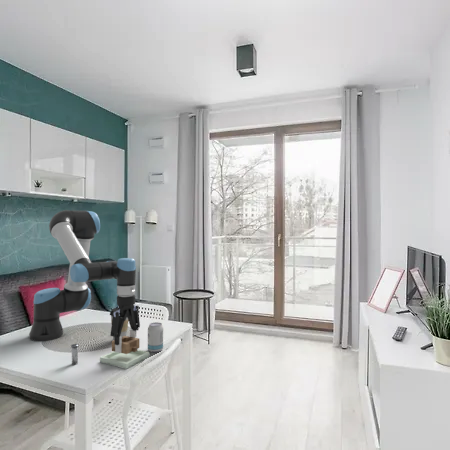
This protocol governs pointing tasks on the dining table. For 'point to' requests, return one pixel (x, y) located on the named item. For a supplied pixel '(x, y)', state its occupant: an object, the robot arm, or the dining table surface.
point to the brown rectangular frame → (128, 344)
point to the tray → (124, 358)
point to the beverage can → (155, 337)
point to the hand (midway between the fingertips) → (125, 348)
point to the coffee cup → (125, 325)
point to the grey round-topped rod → (74, 354)
